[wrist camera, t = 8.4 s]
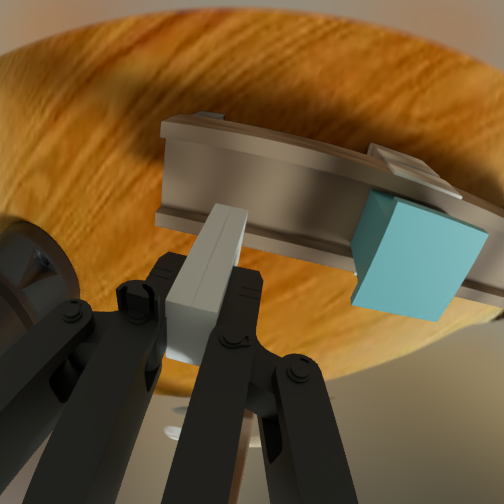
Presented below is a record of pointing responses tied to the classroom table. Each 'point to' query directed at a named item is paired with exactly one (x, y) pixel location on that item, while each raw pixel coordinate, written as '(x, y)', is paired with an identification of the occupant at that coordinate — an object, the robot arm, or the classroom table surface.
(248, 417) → the wooden block
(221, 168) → the wooden bench
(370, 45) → the classroom table surface
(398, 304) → the rider
